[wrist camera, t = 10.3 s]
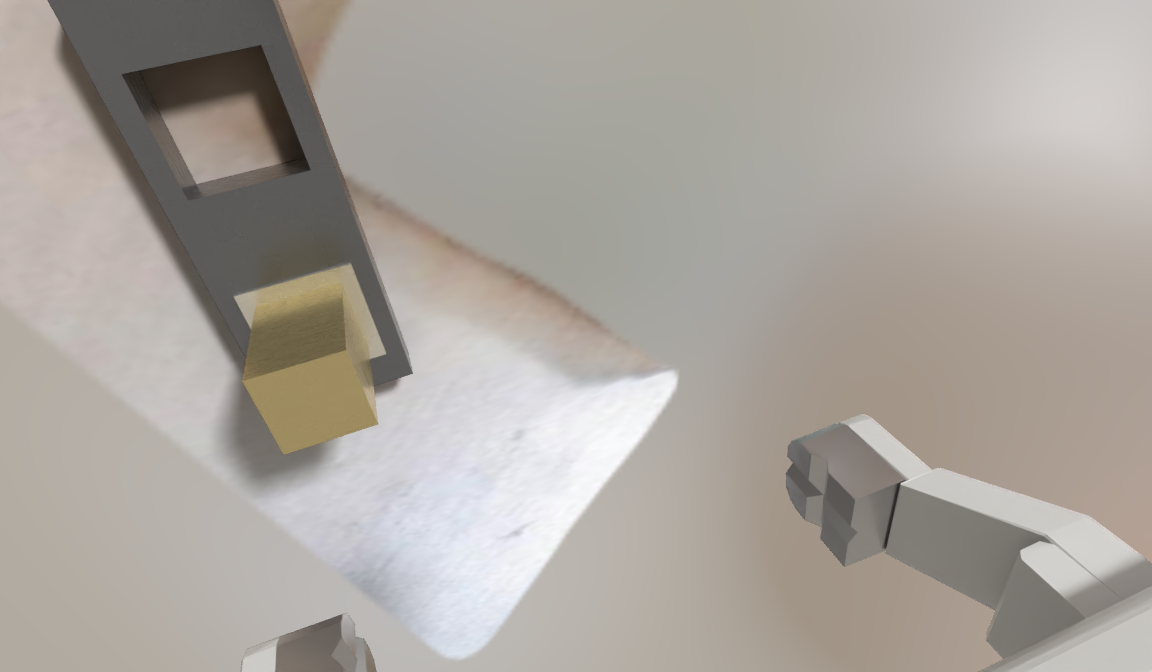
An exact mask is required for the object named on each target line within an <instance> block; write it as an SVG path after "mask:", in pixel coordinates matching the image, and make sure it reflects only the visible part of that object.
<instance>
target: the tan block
mask: <svg viewBox="0 0 1152 672" xmlns="http://www.w3.org/2000/svg"><path fill="white" fill-rule="evenodd" d="M242 382H243V384H244V386H245V387H246V389H247V391H248V393H249V394H250V396H251V398H252V400H253V402H254V403H255V405H256V407H257V409H258V410H259V412H260V414H261V416H262V417H263V419H264V421H265V423H266V425H267V426H268V428H269V430H270V432H271V433H272V435H273V437H274V439H275V440H276V442H277V444H278V446H279V447H280V449H281V451H282V453H283V455H285V454H288V453H291V452H294V451H297V450H301V449H304V448H307V447H310V446H313V445H316V444H319V443H322V442H325V441H328V440H331V439H334V438H337V437H340V436H344V435H347V434H350V433H353V432H356V431H359V430H362V429H365V428H368V427H371V426H374V425H377V424H378V418H377V410H376V402H375V394H374V386H373V377H372V369H371V361H370V353H369V349H368V346H367V344H366V341H365V339H364V336H363V334H362V331H361V329H360V326H359V324H358V321H357V319H356V317H355V314H354V312H353V309H352V307H351V304H350V302H349V299H348V297H347V294H346V292H345V289H344V287H343V285H342V283H339V284H336V285H332V286H329V287H325V288H321V289H318V290H314V291H311V292H307V293H304V294H300V295H296V296H293V297H289V298H286V299H282V300H279V301H275V302H271V303H268V304H264V305H261V306H257V307H255V311H254V317H253V322H252V328H251V334H250V339H249V345H248V351H247V356H246V362H245V368H244V374H243V379H242Z"/></svg>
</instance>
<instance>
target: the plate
mask: <svg viewBox="0 0 1152 672" xmlns="http://www.w3.org/2000/svg"><path fill="white" fill-rule="evenodd" d="M48 2H49V4H50V6H51V8H52V9H53V11H54V13H55V15H56V17H57V18H58V20H59V22H60V24H61V26H62V27H63V29H64V31H65V33H66V35H67V36H68V38H69V40H70V42H71V44H72V45H73V47H74V49H75V51H76V53H77V54H78V56H79V58H80V60H81V62H82V64H83V65H84V67H85V69H86V71H87V73H88V74H89V76H90V78H91V80H92V82H93V83H94V85H95V87H96V89H97V91H98V92H99V94H100V96H101V98H102V100H103V101H104V103H105V105H106V107H107V109H108V110H109V112H110V114H111V116H112V118H113V120H114V121H115V123H116V125H117V127H118V129H119V130H120V132H121V134H122V136H123V138H124V139H125V141H126V143H127V145H128V147H129V148H130V150H131V152H132V154H133V156H134V157H135V159H136V161H137V163H138V165H139V166H140V168H141V170H142V172H143V174H144V175H145V177H146V179H147V181H148V183H149V185H150V186H151V188H152V190H153V192H154V194H155V195H156V197H157V199H158V201H159V203H160V204H161V206H162V208H163V210H164V212H165V213H166V215H167V217H168V219H169V221H170V222H171V224H172V226H173V228H174V230H175V231H176V233H177V235H178V237H179V239H180V241H181V242H182V244H183V246H184V248H185V250H186V251H187V253H188V255H189V257H190V259H191V260H192V262H193V264H194V266H195V268H196V269H197V271H198V273H199V275H200V277H201V278H202V280H203V282H204V284H205V286H206V287H207V289H208V291H209V293H210V295H211V297H212V298H213V300H214V302H215V304H216V306H217V307H218V309H219V311H220V313H221V315H222V316H223V318H224V320H225V322H226V324H227V325H228V327H229V329H230V331H231V333H232V334H233V336H234V338H235V340H236V342H237V343H238V345H239V347H240V349H241V351H242V353H243V354H244V356H245V358H246V356H247V351H248V345H249V339H250V334H251V328H252V322H253V317H254V311H255V307H257V306H261V305H264V304H268V303H271V302H275V301H279V300H282V299H286V298H289V297H293V296H296V295H300V294H304V293H307V292H311V291H314V290H318V289H321V288H325V287H329V286H332V285H336V284H339V283H342V285H343V287H344V289H345V292H346V294H347V297H348V299H349V302H350V304H351V307H352V309H353V312H354V314H355V317H356V319H357V321H358V324H359V326H360V329H361V331H362V334H363V336H364V339H365V341H366V344H367V346H368V349H369V353H370V361H371V369H372V377H373V386H375V385H379V384H382V383H385V382H388V381H391V380H394V379H397V378H401V377H404V376H407V375H410V374H413V372H412V367H411V363H410V358H409V353H408V350H407V348H406V345H405V342H404V339H403V337H402V334H401V331H400V329H399V326H398V323H397V321H396V318H395V315H394V312H393V310H392V307H391V304H390V302H389V299H388V296H387V294H386V291H385V288H384V285H383V283H382V280H381V277H380V275H379V272H378V269H377V267H376V264H375V261H374V258H373V256H372V253H371V250H370V248H369V245H368V242H367V239H366V237H365V234H364V231H363V229H362V226H361V223H360V221H359V218H358V215H357V212H356V210H355V207H354V204H353V202H352V199H351V196H350V194H349V191H348V188H347V185H346V183H345V180H344V177H343V175H342V172H341V169H340V167H339V164H338V161H337V158H336V156H335V153H334V150H333V148H332V145H331V142H330V140H329V137H328V134H327V132H326V129H325V126H324V123H323V121H322V118H321V116H320V113H319V110H318V107H317V104H316V102H315V99H314V96H313V94H312V91H311V88H310V85H309V83H308V80H307V77H306V75H305V72H304V69H303V67H302V64H301V61H300V58H299V56H298V53H297V50H296V48H295V45H294V42H293V40H292V37H291V34H290V31H289V29H288V26H287V23H286V21H285V18H284V15H283V13H282V10H281V7H280V4H279V2H278V0H48ZM259 45H261V46H262V49H263V51H264V54H265V56H266V59H267V61H268V64H269V66H270V69H271V71H272V74H273V76H274V79H275V81H276V84H277V86H278V89H279V91H280V94H281V96H282V99H283V101H284V104H285V106H286V109H287V111H288V114H289V116H290V119H291V121H292V124H293V127H294V129H295V132H296V134H297V137H298V139H299V142H300V144H301V147H302V149H303V152H304V154H305V157H306V158H303V159H299V160H295V161H291V162H287V163H282V164H278V165H274V166H270V167H266V168H262V169H258V170H254V171H250V172H246V173H242V174H237V175H233V176H229V177H225V178H221V179H217V180H213V181H209V182H205V183H201V184H196V183H195V181H194V179H193V177H192V175H191V173H190V171H189V169H188V167H187V165H186V163H185V162H184V160H183V158H182V156H181V154H180V152H179V150H178V148H177V146H176V144H175V142H174V140H173V138H172V136H171V134H170V132H169V130H168V128H167V126H166V124H165V122H164V120H163V118H162V116H161V114H160V113H159V111H158V109H157V107H156V105H155V103H154V101H153V99H152V97H151V95H150V93H149V91H148V89H147V87H146V85H145V83H144V81H143V79H142V77H141V75H140V73H139V70H144V69H148V68H153V67H158V66H163V65H168V64H172V63H177V62H182V61H187V60H192V59H196V58H201V57H206V56H211V55H216V54H220V53H225V52H230V51H235V50H240V49H244V48H249V47H254V46H259Z"/></svg>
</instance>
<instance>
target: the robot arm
mask: <svg viewBox="0 0 1152 672" xmlns="http://www.w3.org/2000/svg"><path fill="white" fill-rule="evenodd" d="M787 457H788V458H789V459H790V460H791V461H792V462H793V464H792V465H791V466H790V468H789V469H788V471H787V472H786V488H787V490H788V494H789V496H790V500H791V501H792V503H793V504H794V506H795V508H796V510H797V511H798V512H799V513H800V515H801V516H802V517H803V519H804V520H805V521H808V522H810V523H813V524H815V525H818V526H820V538H821V540H822V541H823V542H824V544H825V545H826V546H827V547H828V548H829V549H830V551H831V552H832V553H833V554H834V555H835V556H836V558H837V559H838V560H839V561H840V563H841V564H842V565H843V566H844V567H846V566H848V565H851V564H853V563H856V562H858V561H861V560H863V559H866V558H868V557H871V556H873V555H876V554H878V553H881V552H883V551H886V552H885V553H886V554H888V555H890V556H892V557H894V558H895V559H897V560H899V561H901V562H903V563H905V564H907V565H909V566H911V567H913V568H914V569H916V570H918V571H920V572H922V573H924V574H926V575H928V576H930V577H932V578H934V579H936V580H938V581H940V582H941V583H944V584H945V585H947V586H949V587H951V588H953V589H955V590H957V591H959V592H961V593H963V594H965V595H967V596H968V597H970V598H972V599H974V600H976V601H978V602H980V603H982V604H984V605H986V606H988V607H990V608H992V609H993V610H995V613H994V615H993V618H992V620H991V623H990V625H989V627H988V630H987V638H986V641H987V642H988V643H989V644H990V645H991V646H992V647H993V648H994V649H995V651H996V652H998V654H999V655H1000V656H1001V657H1002V658H1003V660H1001V661H999V662H997V663H995V664H993V665H990V666H989V667H986V668H985V669H982V670H980V671H979V672H1152V563H1151V562H1150V561H1148V560H1147V559H1146V558H1144V557H1143V556H1142V555H1140V554H1139V553H1138V552H1136V551H1135V550H1134V549H1132V548H1131V547H1130V546H1128V545H1127V544H1126V543H1124V542H1123V541H1122V540H1120V539H1119V538H1118V537H1116V536H1115V535H1114V534H1112V533H1111V532H1110V531H1109V530H1107V529H1106V528H1104V527H1103V526H1102V525H1101V524H1099V523H1098V522H1097V521H1095V520H1094V519H1092V518H1091V517H1090V516H1087V515H1084V514H1081V513H1077V512H1075V511H1071V510H1068V509H1065V508H1062V507H1059V506H1056V505H1053V504H1050V503H1047V502H1044V501H1041V500H1037V499H1035V498H1031V497H1028V496H1025V495H1022V494H1019V493H1016V492H1013V491H1010V490H1007V489H1004V488H1001V487H998V486H994V485H991V484H988V483H985V482H982V481H979V480H976V479H973V478H970V477H966V476H964V475H961V474H957V473H954V472H951V471H948V470H945V469H942V468H936V469H934V470H931V469H930V468H929V467H928V466H927V465H926V464H924V463H923V462H922V461H921V460H920V459H919V458H917V457H916V456H915V455H914V454H913V453H912V452H911V451H909V450H908V449H907V448H906V447H905V446H903V445H902V444H901V443H900V442H899V441H898V440H897V439H895V438H894V437H893V436H892V435H891V434H890V433H888V432H887V431H886V430H885V429H884V428H882V427H881V426H880V425H879V424H878V423H877V422H876V421H874V420H873V419H872V418H871V417H869V416H867V415H864V414H861V415H858V416H855V417H853V418H850V419H848V420H845V421H843V422H840V423H838V424H833V425H830V426H828V427H826V428H823V429H820V430H818V431H816V432H813V433H810V434H808V435H805V436H803V437H801V438H798V439H795V440H793V441H791V443H790V444H789V446H788V452H787ZM241 672H376V667H375V663H374V659H373V656H372V654H371V651H370V649H369V647H368V645H367V644H366V641H365V640H364V639H362V638H359V637H355V624H354V622H353V621H352V619H351V618H350V616H349V615H348V613H345V614H342V615H339V616H336V617H334V618H331V619H328V620H325V621H322V622H319V623H317V624H314V625H311V626H308V627H305V628H303V629H300V630H297V631H294V632H291V633H288V634H286V635H283V636H280V637H277V638H275V639H272V640H269V641H267V642H264V643H261V644H259V645H256V646H254V647H251V648H248V649H247V650H246V652H245V655H244V657H243V660H242V664H241Z"/></svg>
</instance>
